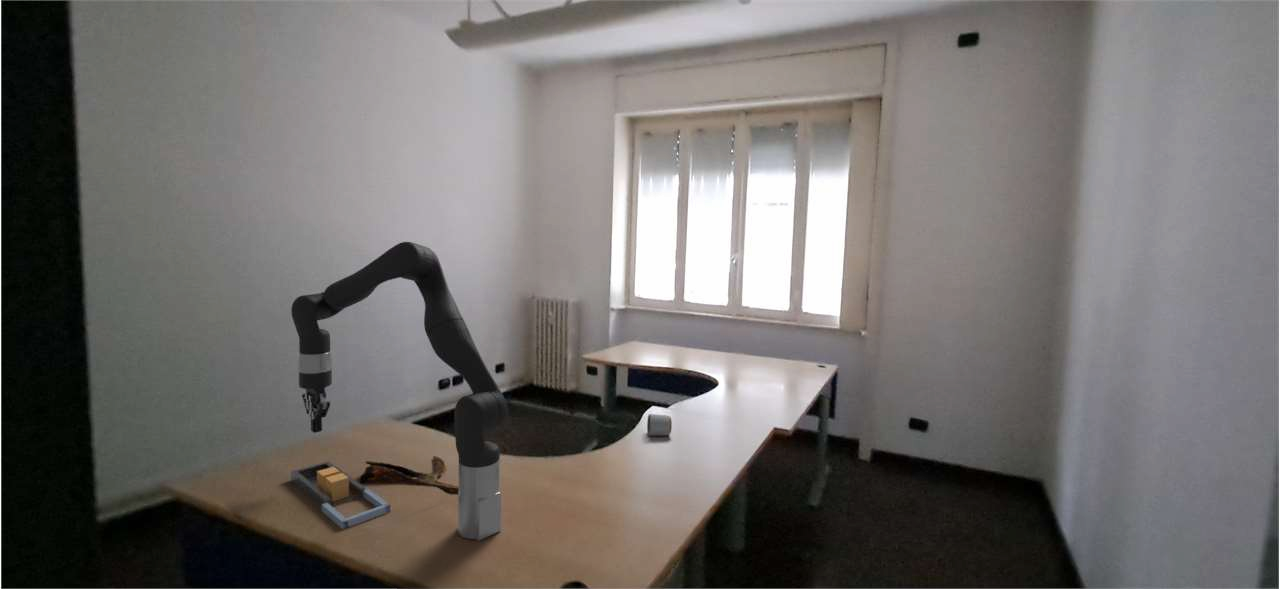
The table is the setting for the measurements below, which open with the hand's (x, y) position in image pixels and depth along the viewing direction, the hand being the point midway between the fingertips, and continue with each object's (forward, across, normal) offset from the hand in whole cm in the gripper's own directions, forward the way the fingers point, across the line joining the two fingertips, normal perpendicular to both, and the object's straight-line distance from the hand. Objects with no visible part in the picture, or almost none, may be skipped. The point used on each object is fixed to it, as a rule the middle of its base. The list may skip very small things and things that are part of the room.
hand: (316, 431), depth 144 cm
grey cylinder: (+15, -42, -98) cm, 108 cm away
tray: (+15, -24, 0) cm, 29 cm away
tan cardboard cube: (+14, -8, 0) cm, 16 cm away
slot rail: (+15, -7, 0) cm, 17 cm away
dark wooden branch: (+16, -14, -23) cm, 31 cm away
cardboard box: (+14, -13, 0) cm, 19 cm away
